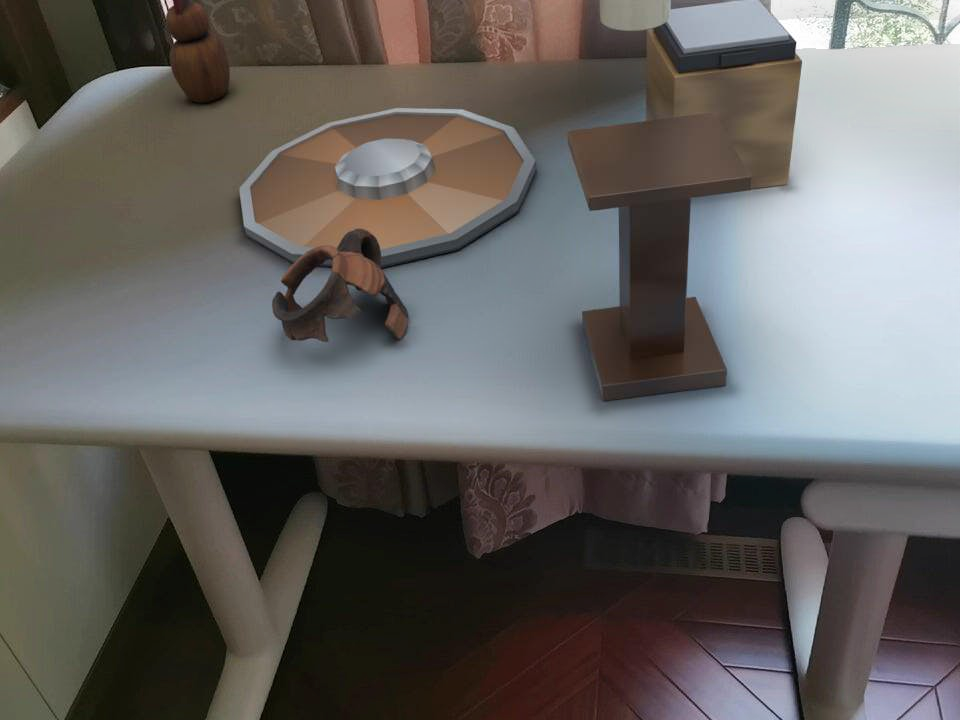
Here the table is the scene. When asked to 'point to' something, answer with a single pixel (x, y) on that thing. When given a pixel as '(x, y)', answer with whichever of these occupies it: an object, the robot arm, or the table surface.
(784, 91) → the crate
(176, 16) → the wooden figurine
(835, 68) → the table surface
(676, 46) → the scale
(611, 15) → the cream pillar candle
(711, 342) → the stand
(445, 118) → the shield
